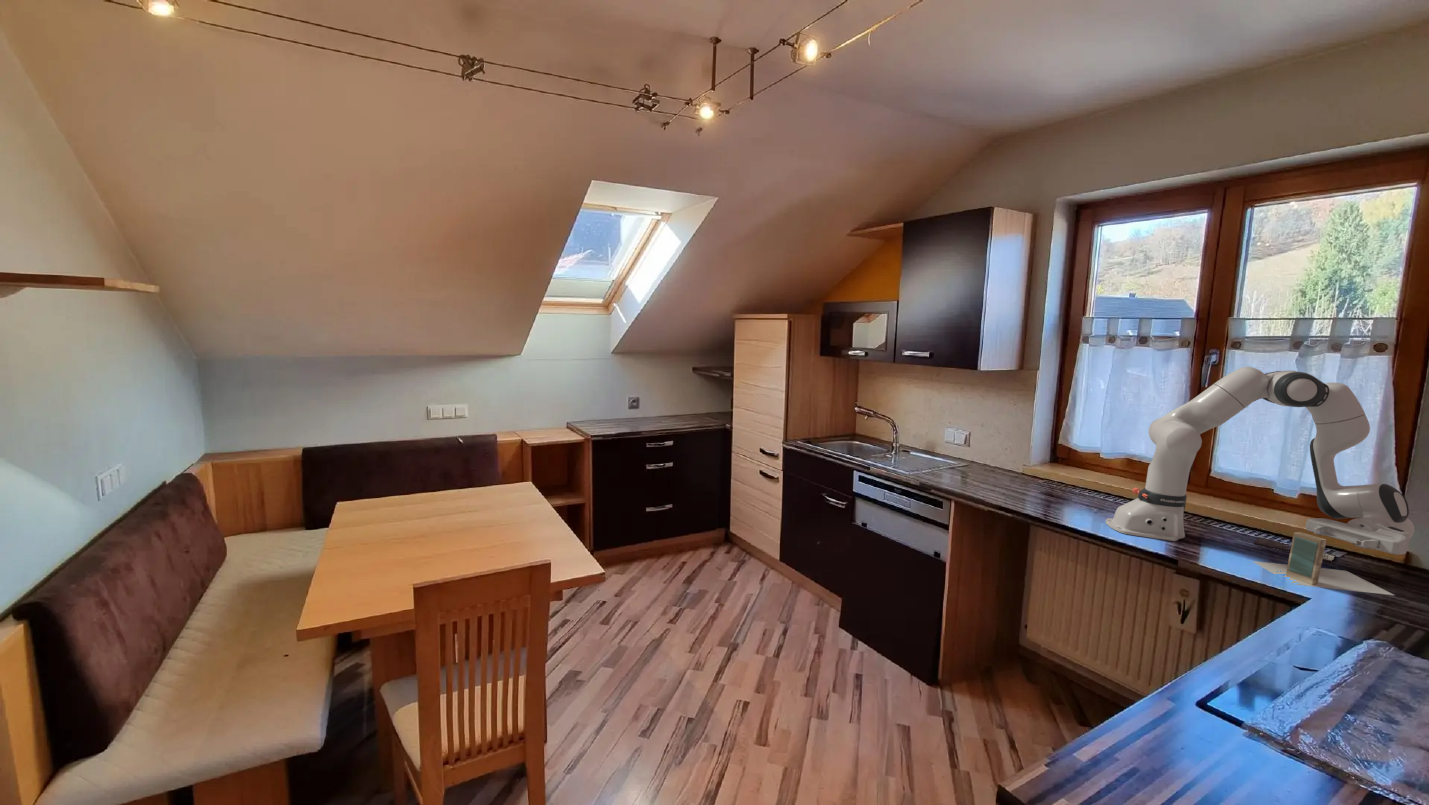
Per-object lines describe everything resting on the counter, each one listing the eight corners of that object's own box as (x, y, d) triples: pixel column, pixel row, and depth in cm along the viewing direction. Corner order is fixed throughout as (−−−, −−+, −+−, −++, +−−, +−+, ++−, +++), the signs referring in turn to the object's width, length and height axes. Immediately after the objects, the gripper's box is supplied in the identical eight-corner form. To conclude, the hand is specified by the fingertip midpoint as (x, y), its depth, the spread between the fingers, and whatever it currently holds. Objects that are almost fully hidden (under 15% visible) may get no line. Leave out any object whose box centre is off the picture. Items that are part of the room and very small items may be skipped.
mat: (1290, 585, 166) (1291, 584, 165) (1251, 562, 181) (1252, 561, 181) (1394, 596, 161) (1394, 595, 161) (1345, 572, 176) (1345, 570, 176)
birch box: (1291, 575, 172) (1299, 531, 170) (1317, 584, 166) (1326, 539, 164) (1285, 576, 171) (1293, 532, 169) (1311, 585, 165) (1320, 540, 163)
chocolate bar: (1260, 537, 202) (1335, 555, 188) (1259, 539, 202) (1334, 558, 188) (1253, 542, 197) (1331, 561, 183) (1253, 545, 197) (1330, 564, 183)
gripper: (1323, 511, 184) (1294, 515, 180) (1417, 534, 165) (1388, 539, 160) (1320, 531, 185) (1291, 535, 181) (1413, 556, 166) (1384, 562, 161)
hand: (1337, 537), depth 170 cm, fingers open, 8 cm apart
